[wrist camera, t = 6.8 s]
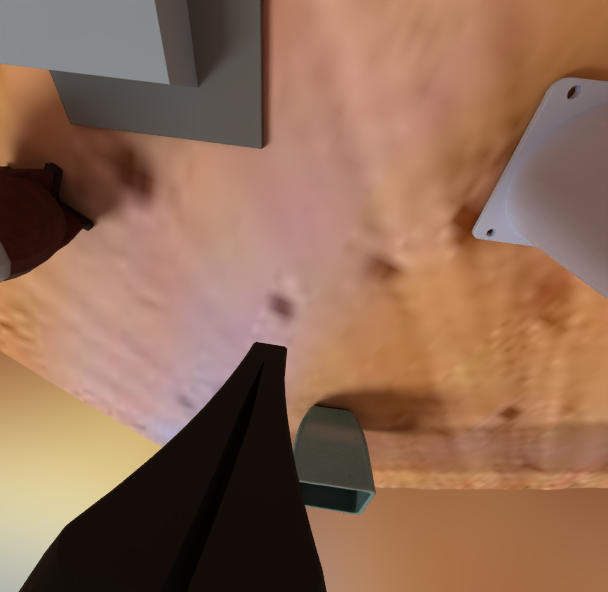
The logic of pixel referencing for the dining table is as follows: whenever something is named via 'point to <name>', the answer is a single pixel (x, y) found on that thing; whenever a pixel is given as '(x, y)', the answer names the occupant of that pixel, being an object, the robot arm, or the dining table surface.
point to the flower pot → (333, 461)
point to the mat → (182, 99)
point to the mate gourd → (33, 219)
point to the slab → (101, 38)
